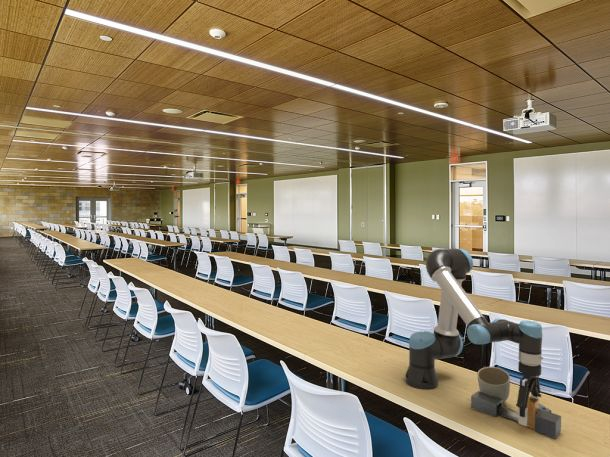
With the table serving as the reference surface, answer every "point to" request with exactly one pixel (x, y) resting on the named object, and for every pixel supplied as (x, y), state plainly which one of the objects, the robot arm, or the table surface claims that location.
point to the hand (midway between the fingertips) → (528, 418)
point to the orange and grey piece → (514, 415)
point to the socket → (548, 424)
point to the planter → (494, 382)
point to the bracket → (543, 408)
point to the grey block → (485, 403)
